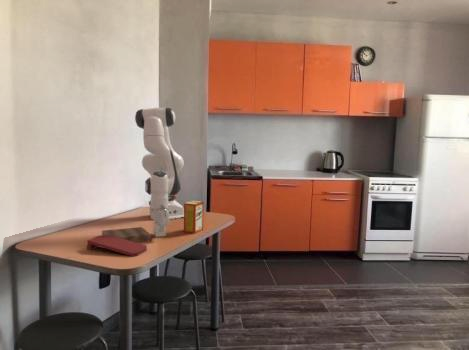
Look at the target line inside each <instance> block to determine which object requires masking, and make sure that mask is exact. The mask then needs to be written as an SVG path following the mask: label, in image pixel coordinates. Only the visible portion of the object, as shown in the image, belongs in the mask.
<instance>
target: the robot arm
mask: <svg viewBox="0 0 469 350" xmlns="http://www.w3.org/2000/svg"><path fill="white" fill-rule="evenodd" d="M174 111H175V110H174V109H172V107H171V108H170V107H152V108H151V107H150V108H145V109H143V108H142V109H138V110H137V111H136V112H135V116H134V121H135V124H136V126H137V127H138V128H140V129H142V130H143V133H142V134H143V135H142V136H143V137H142V138H143V145H144V148H145V150H146V151H147V152H148V154H145V155H143V157H142V159H141V164H142V165H141V166H142V168H143V169H144V170H145V171H146V172H147V173H148V174H149V175H150V176H149V177H148V178H147V179H146V180H145V181H144V183H145V184H144V185H145V187H144V188H145V189H144V190H145V192H146V193H147V194H148V195H151V197H150V200H149V201H148V205H149V213H150V214H149V215H150V218H151V219H152V220H154V223H159V224H160V229H159V232H163V231H164V226H166V227H167V226H169V224H170V220H176V219H181V217H184V205H182V204H180V203H179V202H178V201H177V200H176V199H178V195H177V194H179V192H180V191H181V188H182V187H181V182H180V178H179V175H178V172H181V171H182V170H183V168H184V165H185V164H184V163H185V161H184V158H183V157H182V156H181V155H180V154H178V153H177V152H176V151H175V150H174V148H173V146H172V143H171V139H170V132H169V128H170V127H172V126H174V124H175V122H176V114H175V112H174ZM167 173H168V174H167ZM175 218H176V219H175Z"/></svg>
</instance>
